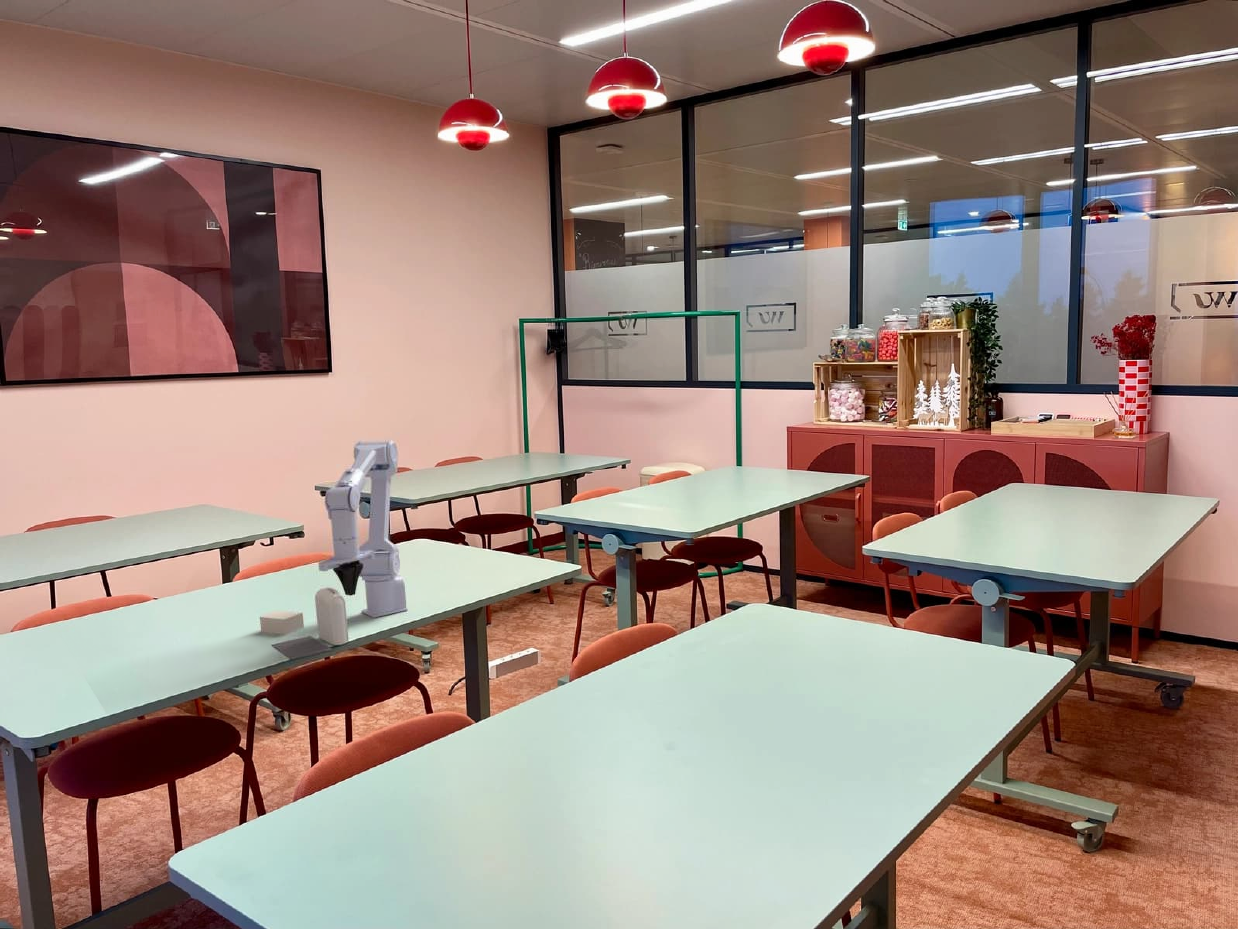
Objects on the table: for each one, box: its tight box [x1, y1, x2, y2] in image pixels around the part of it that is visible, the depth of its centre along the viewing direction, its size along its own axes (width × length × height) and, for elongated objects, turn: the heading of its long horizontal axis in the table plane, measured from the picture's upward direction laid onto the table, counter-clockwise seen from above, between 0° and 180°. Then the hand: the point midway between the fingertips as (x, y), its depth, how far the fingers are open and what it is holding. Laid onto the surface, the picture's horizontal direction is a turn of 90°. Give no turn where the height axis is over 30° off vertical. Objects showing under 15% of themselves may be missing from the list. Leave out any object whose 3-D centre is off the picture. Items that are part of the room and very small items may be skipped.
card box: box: [259, 609, 305, 636], centre depth 224 cm, size 6×8×4 cm
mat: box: [271, 635, 333, 661], centre depth 209 cm, size 9×14×1 cm, turn 38°
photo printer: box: [314, 587, 349, 646], centre depth 213 cm, size 10×4×12 cm, turn 39°
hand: (350, 594), depth 215 cm, fingers closed
